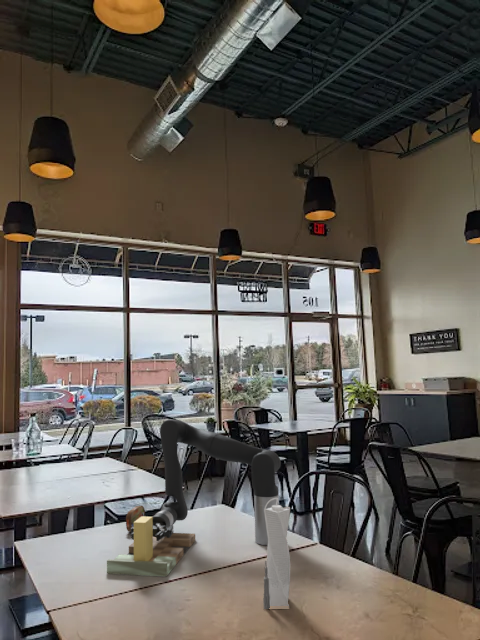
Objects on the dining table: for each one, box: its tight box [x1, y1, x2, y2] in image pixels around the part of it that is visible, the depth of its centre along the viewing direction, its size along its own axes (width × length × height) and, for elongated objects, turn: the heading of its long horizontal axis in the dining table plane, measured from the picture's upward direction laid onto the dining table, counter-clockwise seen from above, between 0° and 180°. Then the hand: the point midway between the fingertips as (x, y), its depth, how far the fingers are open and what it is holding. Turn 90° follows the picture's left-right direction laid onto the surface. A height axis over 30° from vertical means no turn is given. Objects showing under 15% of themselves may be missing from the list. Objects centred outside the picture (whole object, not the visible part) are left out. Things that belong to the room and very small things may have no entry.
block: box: [133, 515, 153, 561], centre depth 174 cm, size 7×4×13 cm, turn 170°
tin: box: [125, 505, 146, 533], centre depth 216 cm, size 15×3×8 cm, turn 168°
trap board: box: [106, 532, 196, 578], centre depth 184 cm, size 35×20×4 cm, turn 170°
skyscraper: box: [263, 497, 291, 610], centre depth 146 cm, size 8×8×28 cm
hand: (145, 537), depth 176 cm, fingers open, 8 cm apart
